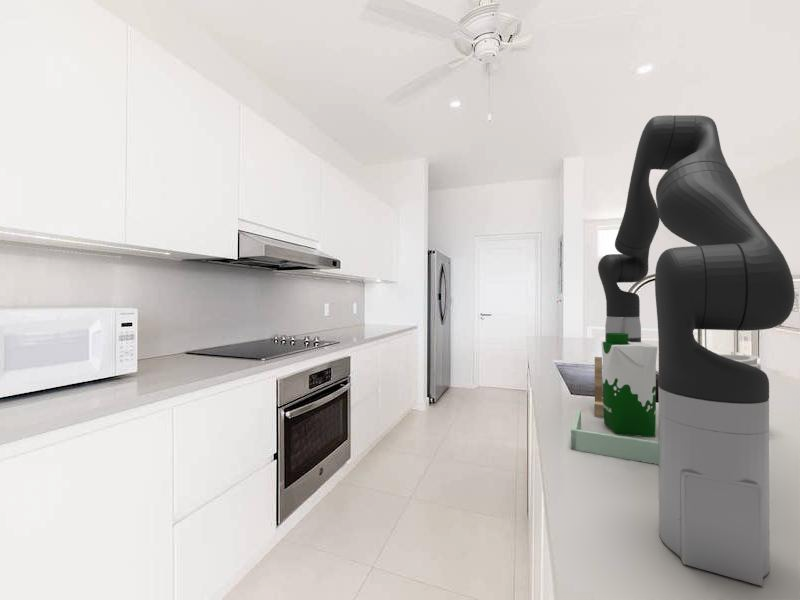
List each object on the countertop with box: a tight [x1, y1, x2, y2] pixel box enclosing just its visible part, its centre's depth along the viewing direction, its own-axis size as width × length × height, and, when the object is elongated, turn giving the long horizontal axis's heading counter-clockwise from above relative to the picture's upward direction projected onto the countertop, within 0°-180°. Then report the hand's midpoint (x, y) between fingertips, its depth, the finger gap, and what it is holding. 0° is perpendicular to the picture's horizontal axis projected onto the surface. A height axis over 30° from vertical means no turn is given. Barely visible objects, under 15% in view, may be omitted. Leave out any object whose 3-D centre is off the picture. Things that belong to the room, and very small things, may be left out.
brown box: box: [593, 356, 604, 419], centre depth 85 cm, size 7×10×13 cm
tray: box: [570, 409, 659, 466], centre depth 68 cm, size 14×19×4 cm
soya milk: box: [601, 333, 658, 437], centre depth 76 cm, size 9×9×20 cm
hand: (623, 405), depth 91 cm, fingers closed
